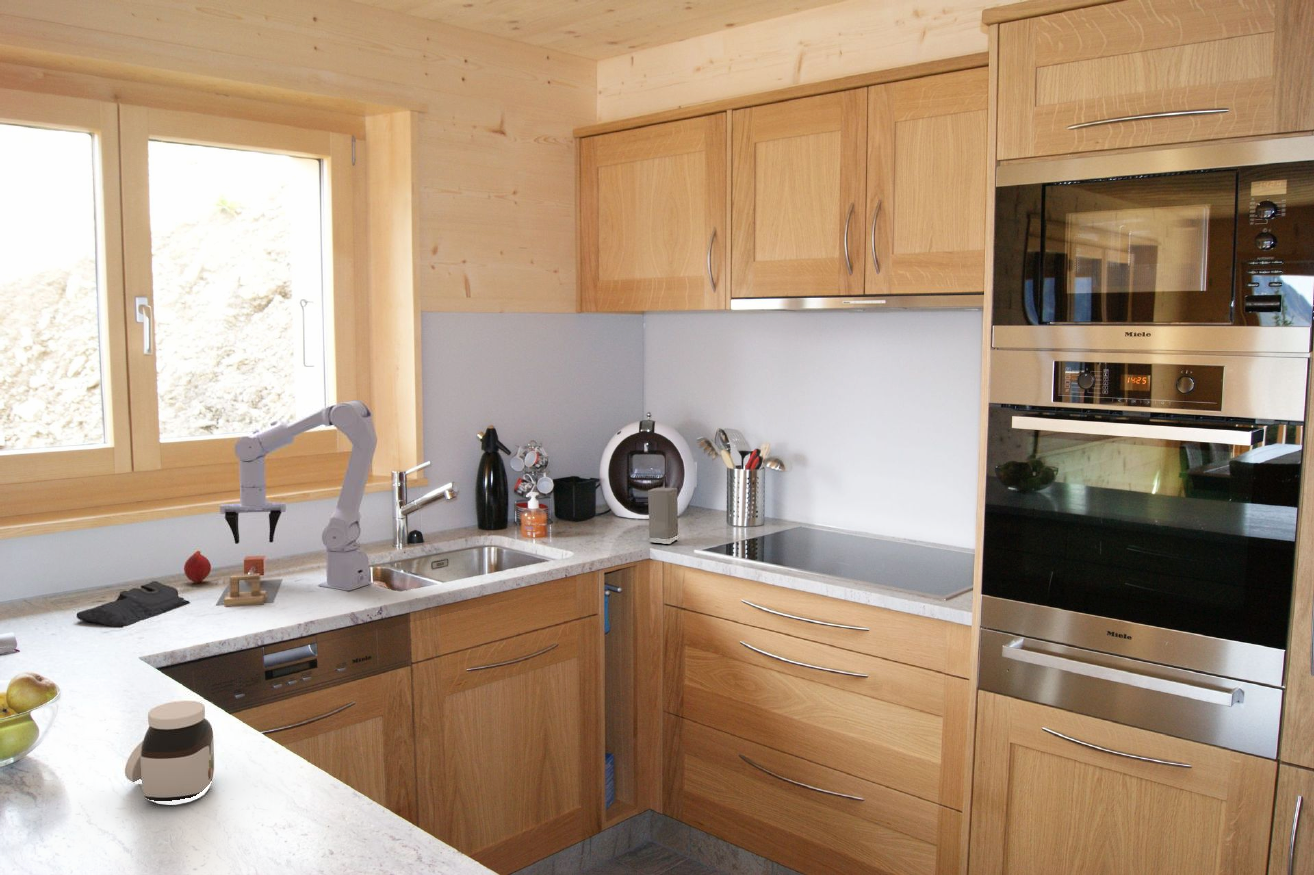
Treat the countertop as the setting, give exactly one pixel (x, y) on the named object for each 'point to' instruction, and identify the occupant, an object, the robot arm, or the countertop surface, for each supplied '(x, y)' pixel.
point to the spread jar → (174, 752)
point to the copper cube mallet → (254, 566)
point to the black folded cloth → (135, 605)
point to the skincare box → (663, 513)
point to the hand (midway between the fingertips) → (254, 542)
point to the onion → (197, 567)
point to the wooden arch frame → (245, 597)
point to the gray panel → (265, 585)
